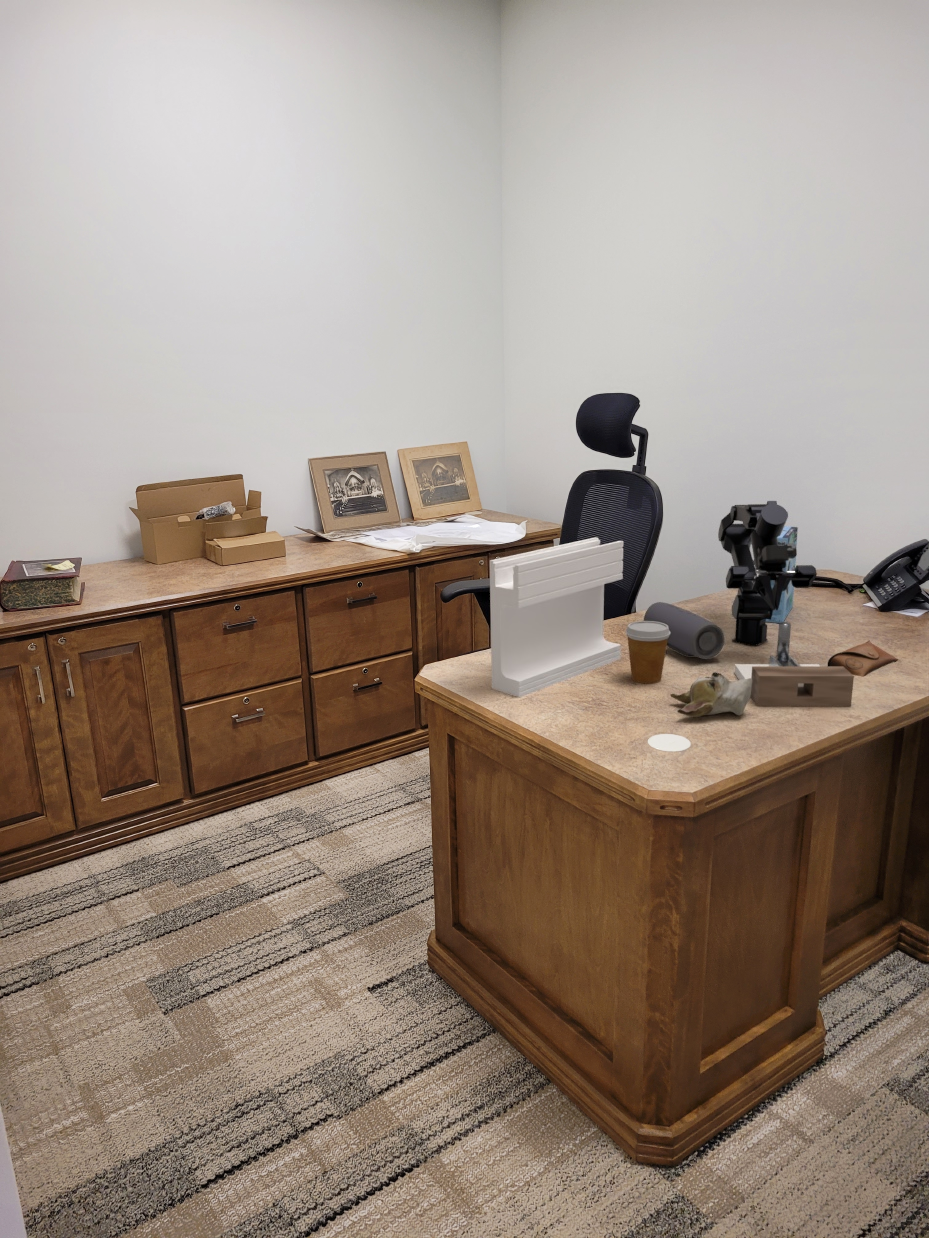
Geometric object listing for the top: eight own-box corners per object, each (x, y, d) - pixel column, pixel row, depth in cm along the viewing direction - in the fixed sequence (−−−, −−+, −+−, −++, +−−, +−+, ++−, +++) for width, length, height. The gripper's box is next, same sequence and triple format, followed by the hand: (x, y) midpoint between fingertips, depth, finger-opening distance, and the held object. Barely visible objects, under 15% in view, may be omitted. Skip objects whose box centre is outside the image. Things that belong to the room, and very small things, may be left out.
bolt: (774, 666, 189) (777, 622, 186) (785, 666, 189) (789, 622, 186) (785, 678, 181) (788, 632, 178) (797, 678, 181) (800, 632, 178)
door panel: (734, 672, 193) (735, 652, 192) (817, 672, 191) (819, 652, 190) (746, 689, 182) (747, 668, 181) (834, 689, 181) (836, 667, 180)
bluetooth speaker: (640, 640, 219) (641, 601, 216) (673, 636, 221) (674, 598, 219) (690, 666, 198) (692, 624, 195) (725, 661, 201) (727, 620, 198)
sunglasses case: (864, 677, 188) (851, 648, 189) (835, 686, 193) (823, 658, 194) (900, 659, 199) (888, 632, 200) (872, 668, 204) (860, 642, 205)
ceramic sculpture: (758, 679, 162) (677, 683, 164) (758, 723, 164) (678, 726, 166) (746, 662, 173) (669, 666, 174) (746, 703, 175) (670, 707, 176)
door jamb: (750, 695, 179) (752, 666, 177) (840, 695, 178) (843, 666, 176) (757, 706, 173) (759, 676, 171) (850, 706, 172) (853, 676, 170)
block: (593, 652, 210) (595, 537, 203) (620, 659, 205) (623, 541, 197) (491, 688, 187) (489, 560, 180) (519, 697, 181) (518, 565, 174)
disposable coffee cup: (670, 673, 193) (672, 621, 190) (665, 688, 185) (667, 633, 181) (627, 670, 196) (629, 619, 193) (620, 684, 188) (622, 630, 184)
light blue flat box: (782, 624, 230) (789, 538, 224) (762, 622, 232) (768, 537, 226) (793, 607, 246) (799, 526, 240) (774, 605, 249) (780, 525, 243)
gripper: (731, 530, 194) (739, 590, 186) (817, 529, 192) (830, 589, 184) (722, 558, 203) (729, 616, 195) (804, 557, 202) (815, 616, 194)
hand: (775, 609), depth 192 cm, fingers closed
